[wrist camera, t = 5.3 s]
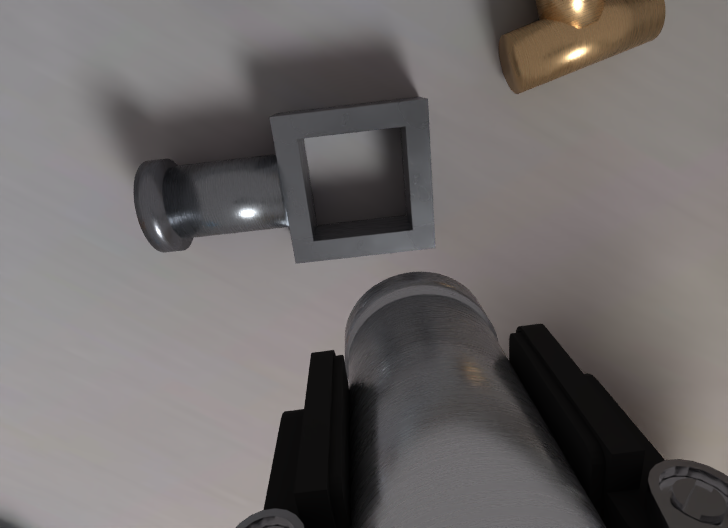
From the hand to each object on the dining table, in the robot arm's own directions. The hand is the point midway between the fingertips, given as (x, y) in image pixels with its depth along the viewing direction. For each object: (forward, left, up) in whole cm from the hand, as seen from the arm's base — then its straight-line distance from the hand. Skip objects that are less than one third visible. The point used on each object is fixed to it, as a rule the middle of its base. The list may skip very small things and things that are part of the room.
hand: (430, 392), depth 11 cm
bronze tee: (-10, -9, -18) cm, 23 cm away
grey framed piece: (+5, -2, -18) cm, 19 cm away
